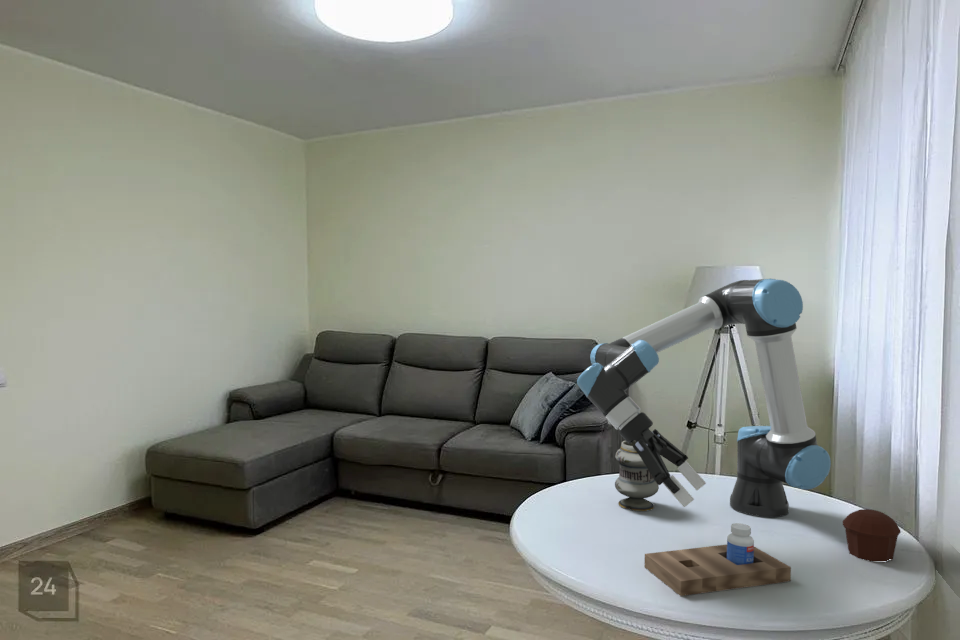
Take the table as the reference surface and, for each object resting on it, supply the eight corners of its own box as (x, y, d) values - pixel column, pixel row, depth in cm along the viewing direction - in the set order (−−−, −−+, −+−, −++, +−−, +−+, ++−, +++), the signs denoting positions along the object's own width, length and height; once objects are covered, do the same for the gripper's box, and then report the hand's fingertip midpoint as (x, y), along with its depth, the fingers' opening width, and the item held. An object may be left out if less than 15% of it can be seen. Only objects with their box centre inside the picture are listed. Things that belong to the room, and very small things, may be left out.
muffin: (866, 566, 142) (868, 521, 142) (830, 547, 153) (831, 505, 153) (912, 562, 145) (913, 518, 144) (873, 543, 155) (874, 502, 155)
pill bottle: (750, 578, 136) (751, 532, 136) (723, 572, 139) (725, 527, 138) (755, 569, 141) (756, 525, 140) (729, 563, 144) (730, 520, 143)
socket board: (746, 555, 148) (746, 542, 148) (790, 581, 135) (790, 567, 135) (644, 567, 141) (644, 553, 141) (680, 596, 128) (680, 581, 128)
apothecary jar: (608, 507, 181) (609, 444, 180) (622, 496, 191) (623, 436, 191) (651, 515, 175) (651, 449, 174) (663, 503, 185) (664, 441, 184)
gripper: (633, 422, 163) (694, 490, 156) (601, 441, 141) (670, 521, 134) (655, 402, 160) (718, 471, 153) (625, 419, 138) (697, 500, 131)
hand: (695, 495), depth 144 cm, fingers open, 13 cm apart
